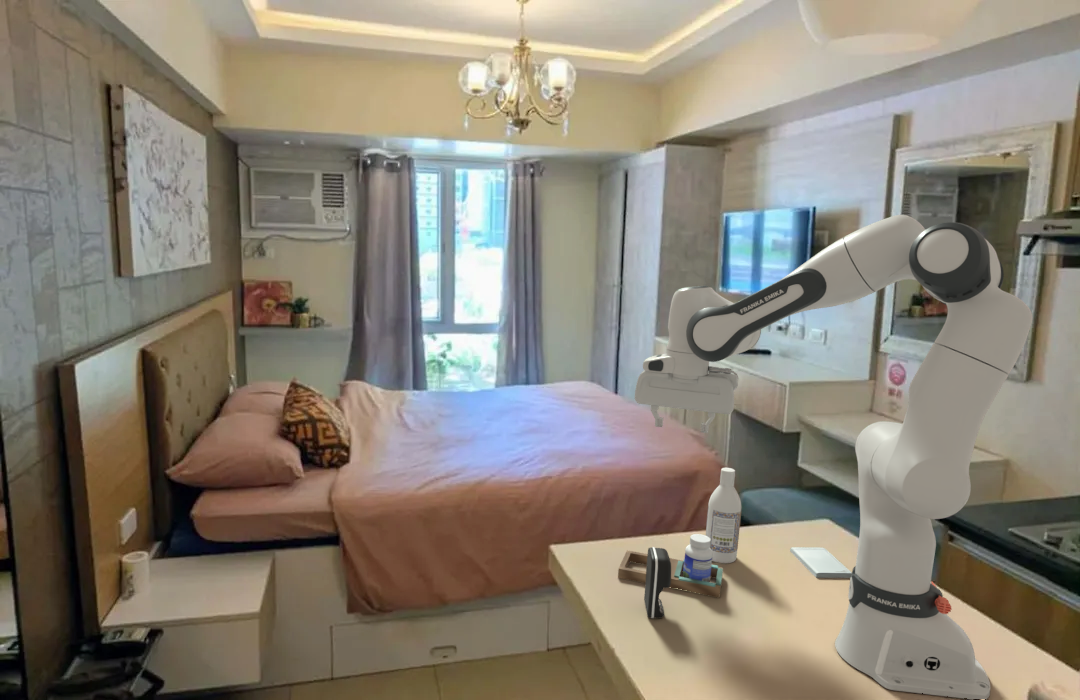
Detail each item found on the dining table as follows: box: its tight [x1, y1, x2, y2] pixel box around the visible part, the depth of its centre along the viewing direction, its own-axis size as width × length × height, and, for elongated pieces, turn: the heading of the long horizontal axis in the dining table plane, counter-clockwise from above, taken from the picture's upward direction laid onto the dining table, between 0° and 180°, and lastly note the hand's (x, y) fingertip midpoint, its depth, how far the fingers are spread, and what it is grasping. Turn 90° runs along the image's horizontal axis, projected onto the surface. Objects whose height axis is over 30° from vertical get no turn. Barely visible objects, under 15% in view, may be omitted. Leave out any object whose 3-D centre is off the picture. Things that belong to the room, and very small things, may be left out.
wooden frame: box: [617, 549, 724, 599], centre depth 139 cm, size 20×9×2 cm, turn 72°
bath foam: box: [705, 467, 742, 564], centre depth 148 cm, size 7×7×20 cm
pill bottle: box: [682, 533, 713, 582], centre depth 136 cm, size 5×5×10 cm
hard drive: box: [789, 546, 852, 579], centre depth 148 cm, size 2×8×12 cm
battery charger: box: [643, 546, 671, 619], centre depth 125 cm, size 7×4×11 cm, turn 177°
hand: (681, 429), depth 142 cm, fingers open, 8 cm apart
